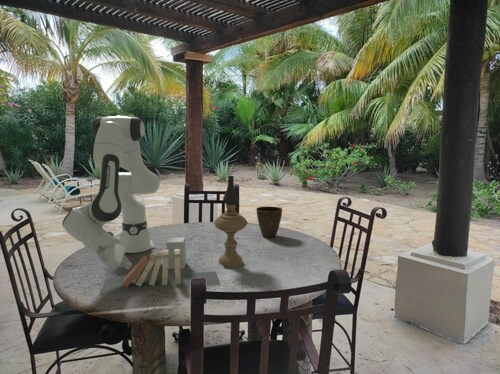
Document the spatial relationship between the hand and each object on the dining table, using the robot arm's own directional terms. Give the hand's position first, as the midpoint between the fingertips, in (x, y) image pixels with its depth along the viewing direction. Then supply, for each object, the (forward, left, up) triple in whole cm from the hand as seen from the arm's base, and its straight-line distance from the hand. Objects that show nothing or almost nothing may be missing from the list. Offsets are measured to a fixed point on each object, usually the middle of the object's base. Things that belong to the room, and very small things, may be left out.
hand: (130, 266), depth 139 cm
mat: (0, +12, -8) cm, 14 cm away
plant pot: (-57, +71, -8) cm, 91 cm away
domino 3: (0, +8, -7) cm, 10 cm away
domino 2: (0, +3, -6) cm, 7 cm away
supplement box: (-17, +18, -8) cm, 26 cm away
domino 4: (0, +13, -7) cm, 14 cm away
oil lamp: (-17, +42, -8) cm, 46 cm away
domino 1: (0, -2, -6) cm, 7 cm away
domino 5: (0, +18, -7) cm, 19 cm away
